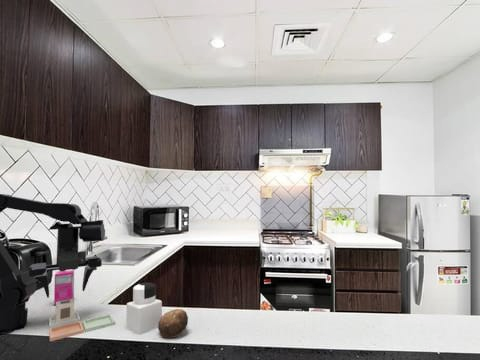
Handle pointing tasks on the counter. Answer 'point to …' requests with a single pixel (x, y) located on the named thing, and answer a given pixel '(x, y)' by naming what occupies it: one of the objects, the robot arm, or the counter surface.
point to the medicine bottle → (143, 309)
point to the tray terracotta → (66, 330)
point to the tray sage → (98, 322)
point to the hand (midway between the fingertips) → (66, 294)
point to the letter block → (64, 311)
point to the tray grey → (54, 324)
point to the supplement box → (64, 286)
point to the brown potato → (173, 323)
